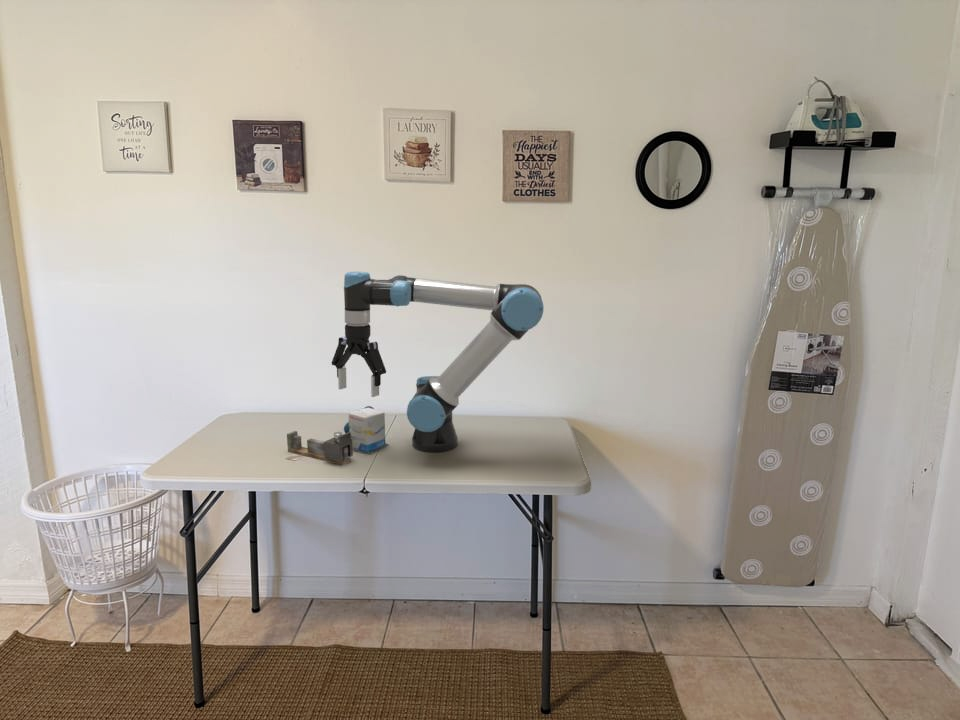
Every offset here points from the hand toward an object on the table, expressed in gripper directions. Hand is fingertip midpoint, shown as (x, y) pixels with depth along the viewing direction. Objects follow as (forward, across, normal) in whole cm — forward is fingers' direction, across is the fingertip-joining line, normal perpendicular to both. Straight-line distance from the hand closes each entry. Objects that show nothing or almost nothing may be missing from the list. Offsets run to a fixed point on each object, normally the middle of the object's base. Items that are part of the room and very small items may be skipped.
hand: (358, 392), depth 188 cm
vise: (+21, +11, +9) cm, 26 cm away
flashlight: (+22, +20, -21) cm, 36 cm away
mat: (+21, +4, -8) cm, 23 cm away
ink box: (+21, +4, -8) cm, 23 cm away
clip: (+20, +3, +6) cm, 21 cm away
